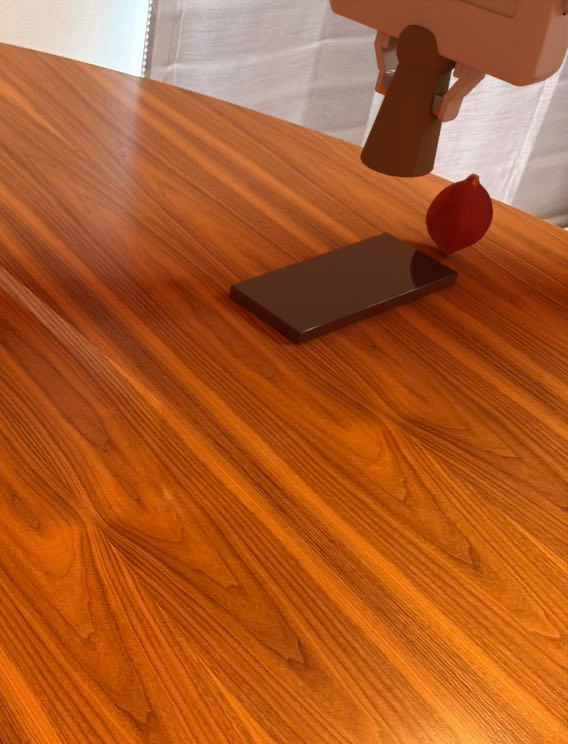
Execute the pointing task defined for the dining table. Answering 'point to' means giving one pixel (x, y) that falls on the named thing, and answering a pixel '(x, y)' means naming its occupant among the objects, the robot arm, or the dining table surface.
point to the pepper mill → (409, 109)
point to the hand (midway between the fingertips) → (413, 105)
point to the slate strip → (342, 286)
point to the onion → (459, 215)
